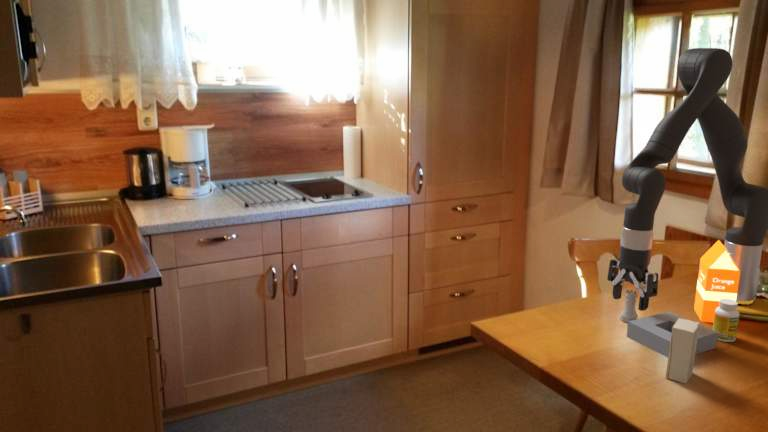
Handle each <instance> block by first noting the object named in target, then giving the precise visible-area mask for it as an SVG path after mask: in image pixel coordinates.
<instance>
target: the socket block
mask: <svg viewBox="0 0 768 432" xmlns="http://www.w3.org/2000/svg"><path fill="white" fill-rule="evenodd" d="M678 318H683V319H686V318H684V317H682V316H680V315H677V314H675V313H673V312H670V311H669V310H668V311H666V312H660V313H657V314H653V315H649V316H645V317H641V318H637V319H636V320H632V321H628V323H627V329H626V330H627V331H626V337H627V338H628V339H631V340H633V341H635V342H636V343H639V344H640V345H643V346H645V347H647V348H649V349H650V350H653V351H654V352H656V353H659V354H660V355H662V356H664V357H666V358H668V356H669V349H670V342H671V335H672V328H673V326H674V324H675V322H676V321H677V319H678ZM717 334H718V333H717V332H715V331H713V330H712V329H710V328H708V327H705V326H703V325H701V324H700V325H699V332H698V338H697V345H696V352H695V355H698V354H700V353H705V352H708V351H711V350H714V349H716V348H717V341H718V340H717Z"/></svg>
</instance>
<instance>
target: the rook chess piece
mask: <svg viewBox="0 0 768 432" xmlns="http://www.w3.org/2000/svg"><path fill="white" fill-rule="evenodd" d="M624 296H625V299H624V302H625V304H624V307H623V309H622V311H621V312H620V316H619V320H621V321H622V322H623V323H627V324H628V321H632V320H636V319H638V317H639V316H638V313H637V310H636V303H637V300H636V299H637V298H638V294H637V291H635V290H633V289H631V290H630V289H627V290H626V292H625V293H624Z"/></svg>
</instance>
